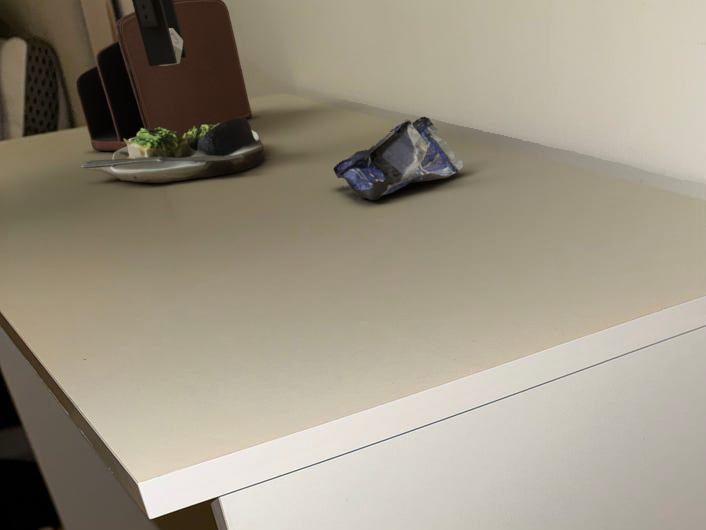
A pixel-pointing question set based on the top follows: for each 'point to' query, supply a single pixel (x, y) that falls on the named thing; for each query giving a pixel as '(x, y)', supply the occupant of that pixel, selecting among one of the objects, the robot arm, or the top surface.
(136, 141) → the salad plate
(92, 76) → the letter holder
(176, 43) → the game die
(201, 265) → the top surface
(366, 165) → the snack package
